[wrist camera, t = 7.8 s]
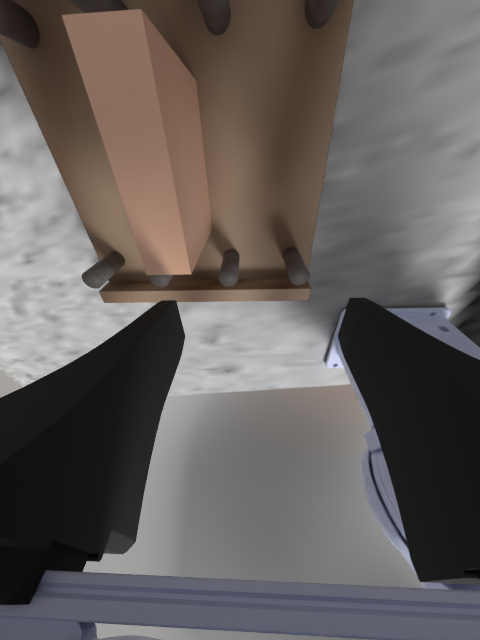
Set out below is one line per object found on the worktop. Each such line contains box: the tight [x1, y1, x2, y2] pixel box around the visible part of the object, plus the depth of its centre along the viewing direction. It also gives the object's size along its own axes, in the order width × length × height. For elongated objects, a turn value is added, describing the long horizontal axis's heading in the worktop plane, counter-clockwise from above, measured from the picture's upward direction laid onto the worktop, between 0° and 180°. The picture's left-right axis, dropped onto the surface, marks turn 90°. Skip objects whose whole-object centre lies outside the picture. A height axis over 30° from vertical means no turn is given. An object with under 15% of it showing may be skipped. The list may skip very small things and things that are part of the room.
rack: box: [0, 0, 353, 303], centre depth 12 cm, size 16×17×5 cm
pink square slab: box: [62, 9, 212, 275], centre depth 10 cm, size 2×7×7 cm, turn 2°
